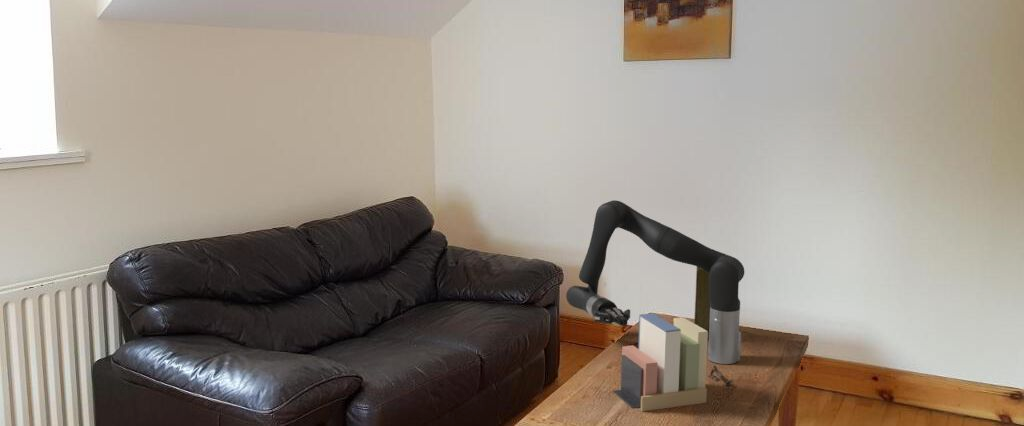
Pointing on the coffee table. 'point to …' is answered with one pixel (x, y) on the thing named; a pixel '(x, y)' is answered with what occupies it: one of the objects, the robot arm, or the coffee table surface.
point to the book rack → (689, 370)
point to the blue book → (661, 349)
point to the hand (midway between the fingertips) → (624, 322)
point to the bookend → (630, 383)
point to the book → (702, 299)
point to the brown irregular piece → (726, 381)
